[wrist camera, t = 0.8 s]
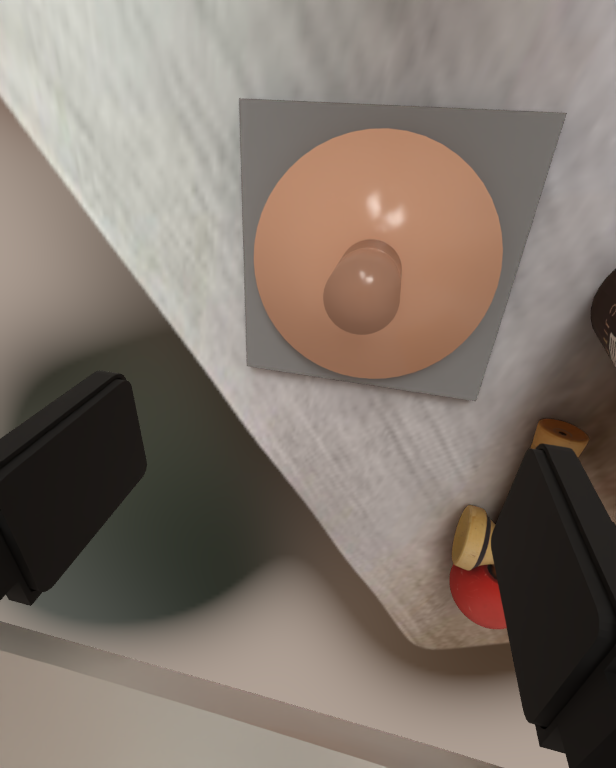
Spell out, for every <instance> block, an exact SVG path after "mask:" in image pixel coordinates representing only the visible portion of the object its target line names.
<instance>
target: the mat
mask: <svg viewBox="0 0 616 768" xmlns="http://www.w3.org/2000/svg"><path fill="white" fill-rule="evenodd" d="M239 113H240V147H241V181H242V215H243V249H244V283H245V317H246V351H247V366H250V367H256V368H263V369H269V370H276V371H282V372H288V373H295V374H301V375H308V376H314V377H321V378H327V379H334V380H340V381H347V382H353V383H360V384H366V385H373V386H379V387H386V388H392V389H399V390H405V391H412V392H418V393H425V394H431V395H438V396H444V397H451V398H457V399H464V400H470V401H476V399H477V396H478V393H479V390H480V387H481V384H482V380H483V377H484V374H485V371H486V368H487V365H488V361H489V358H490V355H491V352H492V349H493V345H494V342H495V339H496V336H497V333H498V330H499V326H500V323H501V320H502V317H503V314H504V311H505V307H506V304H507V301H508V298H509V295H510V291H511V288H512V285H513V282H514V279H515V276H516V272H517V269H518V266H519V263H520V260H521V256H522V253H523V250H524V247H525V244H526V241H527V237H528V234H529V231H530V228H531V225H532V222H533V218H534V215H535V212H536V209H537V206H538V202H539V199H540V196H541V193H542V190H543V187H544V183H545V180H546V177H547V174H548V171H549V168H550V164H551V161H552V158H553V155H554V152H555V148H556V145H557V142H558V139H559V136H560V133H561V129H562V126H563V123H564V120H565V117H566V114H567V113H555V112H533V111H510V110H488V109H465V108H442V107H420V106H397V105H375V104H352V103H330V102H307V101H284V100H262V99H239ZM382 128H390V129H397V130H405V131H410V132H413V133H416V134H420V135H423V136H426V137H428V138H430V139H432V140H435V141H437V142H439V143H441V144H443V145H444V146H446V147H447V148H449V149H450V150H452V151H453V152H455V153H456V154H457V155H459V156H460V157H461V158H462V159H463V160H464V161H465V162H466V163H467V164H468V165H469V166H470V167H471V168H472V169H473V170H474V171H475V173H476V174H477V175H478V177H479V178H480V179H481V181H482V182H483V183H484V185H485V187H486V189H487V191H488V192H489V194H490V196H491V198H492V200H493V203H494V206H495V208H496V211H497V214H498V217H499V222H500V227H501V232H502V244H503V256H502V269H501V273H500V278H499V282H498V286H497V289H496V292H495V295H494V297H493V300H492V302H491V304H490V306H489V308H488V310H487V312H486V314H485V316H484V317H483V319H482V320H481V322H480V323H479V325H478V326H477V327H476V329H475V330H474V331H473V332H472V334H471V335H470V336H469V337H468V338H467V339H466V340H465V341H464V342H463V343H462V344H461V345H460V346H459V347H458V348H456V349H455V350H454V351H453V352H452V353H450V354H449V355H447V356H446V357H444V358H443V359H441V360H440V361H438V362H436V363H434V364H432V365H430V366H429V367H427V368H424V369H422V370H419V371H416V372H414V373H410V374H406V375H402V376H399V377H391V378H381V379H368V378H357V377H352V376H347V375H342V374H339V373H336V372H333V371H330V370H328V369H326V368H324V367H322V366H319V365H317V364H316V363H314V362H312V361H311V360H309V359H307V358H306V357H304V356H303V355H302V354H301V353H299V352H298V351H297V350H296V349H294V348H293V347H292V346H291V345H290V344H289V343H288V342H287V341H286V340H285V339H284V337H283V336H282V335H281V334H280V332H279V331H278V330H277V329H276V327H275V326H274V324H273V322H272V321H271V319H270V318H269V316H268V314H267V312H266V310H265V308H264V305H263V303H262V300H261V297H260V294H259V291H258V288H257V283H256V278H255V270H254V243H255V237H256V231H257V226H258V223H259V220H260V217H261V213H262V211H263V209H264V206H265V204H266V202H267V200H268V197H269V196H270V194H271V192H272V191H273V189H274V188H275V186H276V184H277V183H278V181H279V180H280V179H281V178H282V177H283V175H284V174H285V173H286V172H287V171H288V169H289V168H290V167H291V166H292V165H294V164H295V163H296V162H297V161H298V160H299V159H300V158H301V157H302V156H304V155H305V154H307V153H308V152H309V151H311V150H312V149H314V148H315V147H317V146H318V145H320V144H322V143H324V142H326V141H328V140H330V139H332V138H335V137H338V136H341V135H344V134H347V133H350V132H354V131H360V130H365V129H382Z"/></svg>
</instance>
